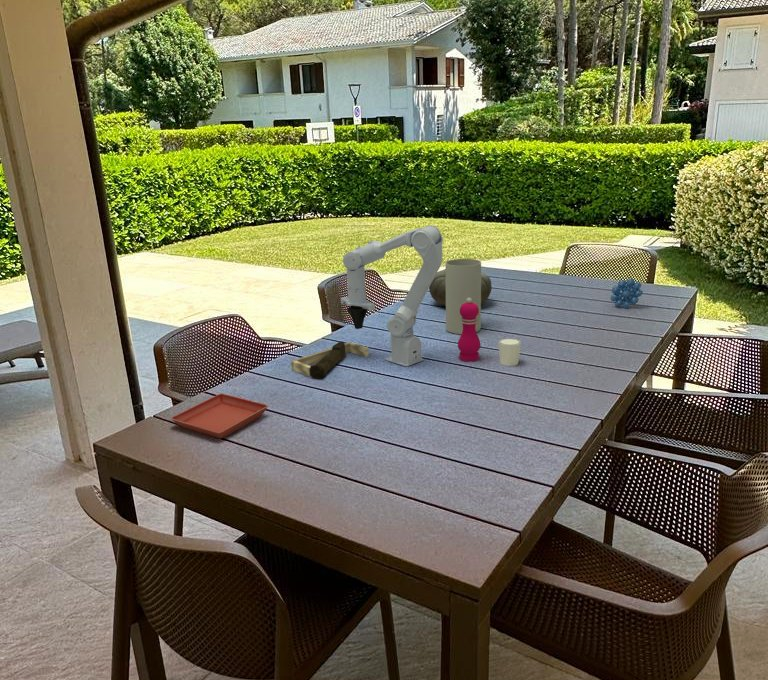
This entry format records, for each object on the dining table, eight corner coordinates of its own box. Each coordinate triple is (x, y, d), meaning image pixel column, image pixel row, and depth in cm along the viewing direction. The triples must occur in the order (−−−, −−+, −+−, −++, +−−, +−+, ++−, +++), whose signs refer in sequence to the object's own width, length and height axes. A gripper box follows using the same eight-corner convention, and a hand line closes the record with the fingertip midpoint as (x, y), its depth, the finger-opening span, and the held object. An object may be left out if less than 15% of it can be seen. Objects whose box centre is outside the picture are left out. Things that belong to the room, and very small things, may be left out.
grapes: (641, 306, 257) (644, 276, 253) (641, 310, 251) (643, 280, 247) (610, 304, 261) (612, 275, 257) (609, 308, 255) (611, 278, 251)
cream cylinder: (522, 360, 204) (523, 339, 202) (517, 367, 198) (518, 346, 196) (501, 358, 207) (501, 337, 205) (495, 365, 201) (495, 343, 199)
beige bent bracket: (369, 356, 213) (368, 347, 212) (309, 376, 198) (308, 367, 197) (350, 350, 220) (350, 341, 219) (291, 369, 204) (291, 360, 203)
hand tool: (323, 380, 195) (322, 363, 193) (309, 379, 197) (308, 361, 195) (354, 356, 215) (353, 340, 213) (341, 354, 217) (340, 339, 215)
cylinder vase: (441, 333, 233) (440, 265, 226) (451, 323, 244) (451, 258, 237) (475, 336, 229) (476, 266, 221) (484, 326, 240) (484, 259, 232)
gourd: (449, 288, 286) (452, 251, 278) (499, 303, 274) (504, 265, 265) (417, 306, 268) (420, 268, 260) (470, 324, 256) (474, 284, 248)
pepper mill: (482, 355, 210) (483, 295, 204) (478, 363, 203) (478, 301, 197) (460, 353, 212) (460, 294, 206) (455, 361, 206) (455, 300, 199)
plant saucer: (220, 444, 158) (219, 432, 157) (170, 429, 167) (169, 417, 166) (270, 416, 172) (269, 405, 171) (222, 403, 182) (220, 392, 181)
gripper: (332, 286, 210) (335, 326, 214) (362, 293, 200) (364, 335, 204) (349, 282, 214) (351, 321, 219) (379, 289, 204) (380, 330, 209)
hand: (358, 328), depth 212 cm, fingers closed
